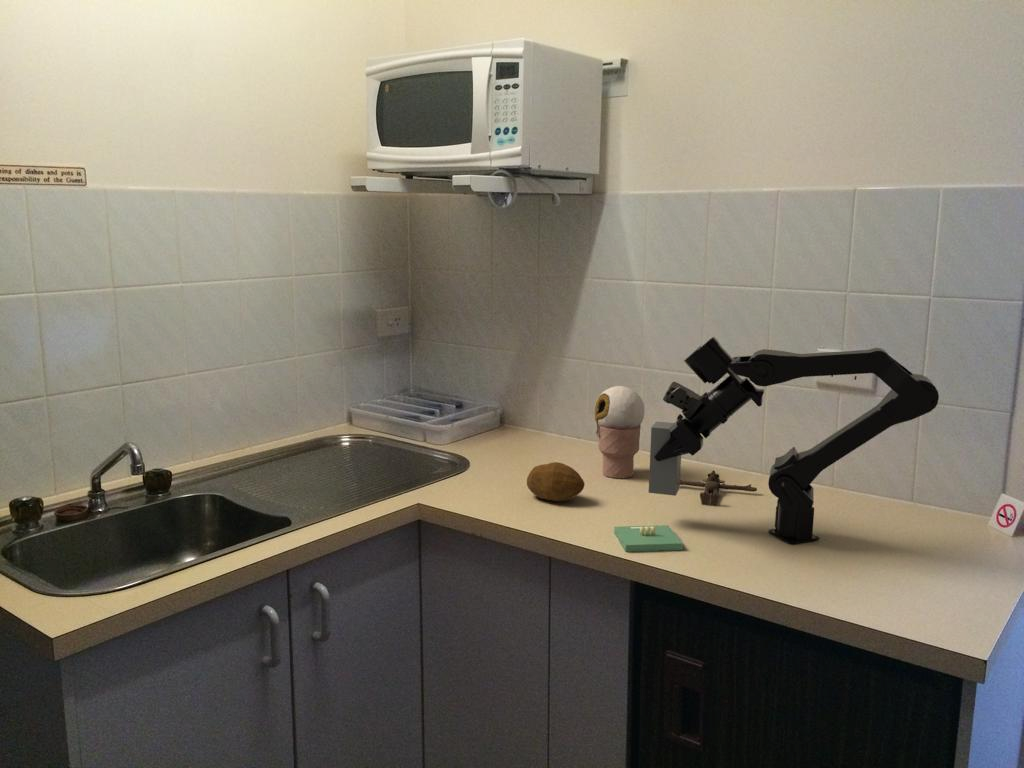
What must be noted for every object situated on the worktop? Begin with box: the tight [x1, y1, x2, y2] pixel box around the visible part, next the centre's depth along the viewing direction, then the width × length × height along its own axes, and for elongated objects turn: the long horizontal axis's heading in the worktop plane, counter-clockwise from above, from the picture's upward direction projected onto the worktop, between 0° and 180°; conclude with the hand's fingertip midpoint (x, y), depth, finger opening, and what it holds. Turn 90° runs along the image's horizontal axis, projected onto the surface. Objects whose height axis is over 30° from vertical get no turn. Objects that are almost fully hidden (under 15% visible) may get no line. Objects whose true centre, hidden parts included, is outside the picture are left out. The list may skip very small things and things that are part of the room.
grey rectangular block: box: [648, 421, 682, 496], centre depth 162 cm, size 5×5×12 cm
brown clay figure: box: [680, 470, 758, 507], centre depth 180 cm, size 18×4×14 cm
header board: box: [613, 524, 683, 553], centre depth 154 cm, size 10×9×3 cm
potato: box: [526, 461, 585, 502], centre depth 176 cm, size 8×12×8 cm, turn 70°
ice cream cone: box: [594, 385, 646, 480], centre depth 192 cm, size 11×11×20 cm
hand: (658, 455), depth 162 cm, fingers closed on grey rectangular block, 5 cm apart
